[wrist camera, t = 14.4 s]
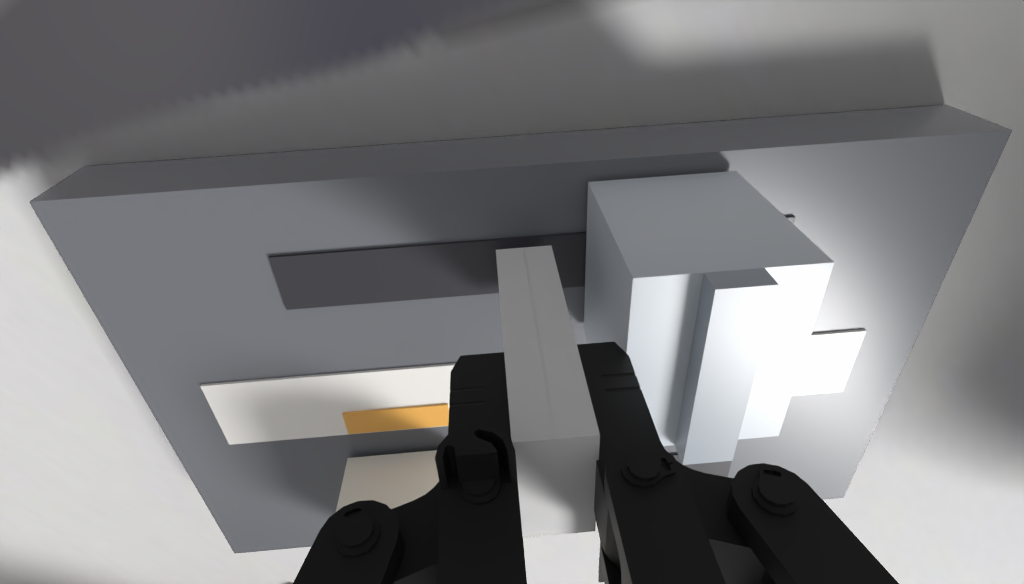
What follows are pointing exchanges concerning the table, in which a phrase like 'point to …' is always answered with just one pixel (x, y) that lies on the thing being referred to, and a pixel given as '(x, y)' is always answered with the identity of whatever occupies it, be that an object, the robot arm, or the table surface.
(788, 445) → the switch board
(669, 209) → the cube with side tab
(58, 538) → the table surface
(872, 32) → the table surface
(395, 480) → the cream tab
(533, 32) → the table surface
